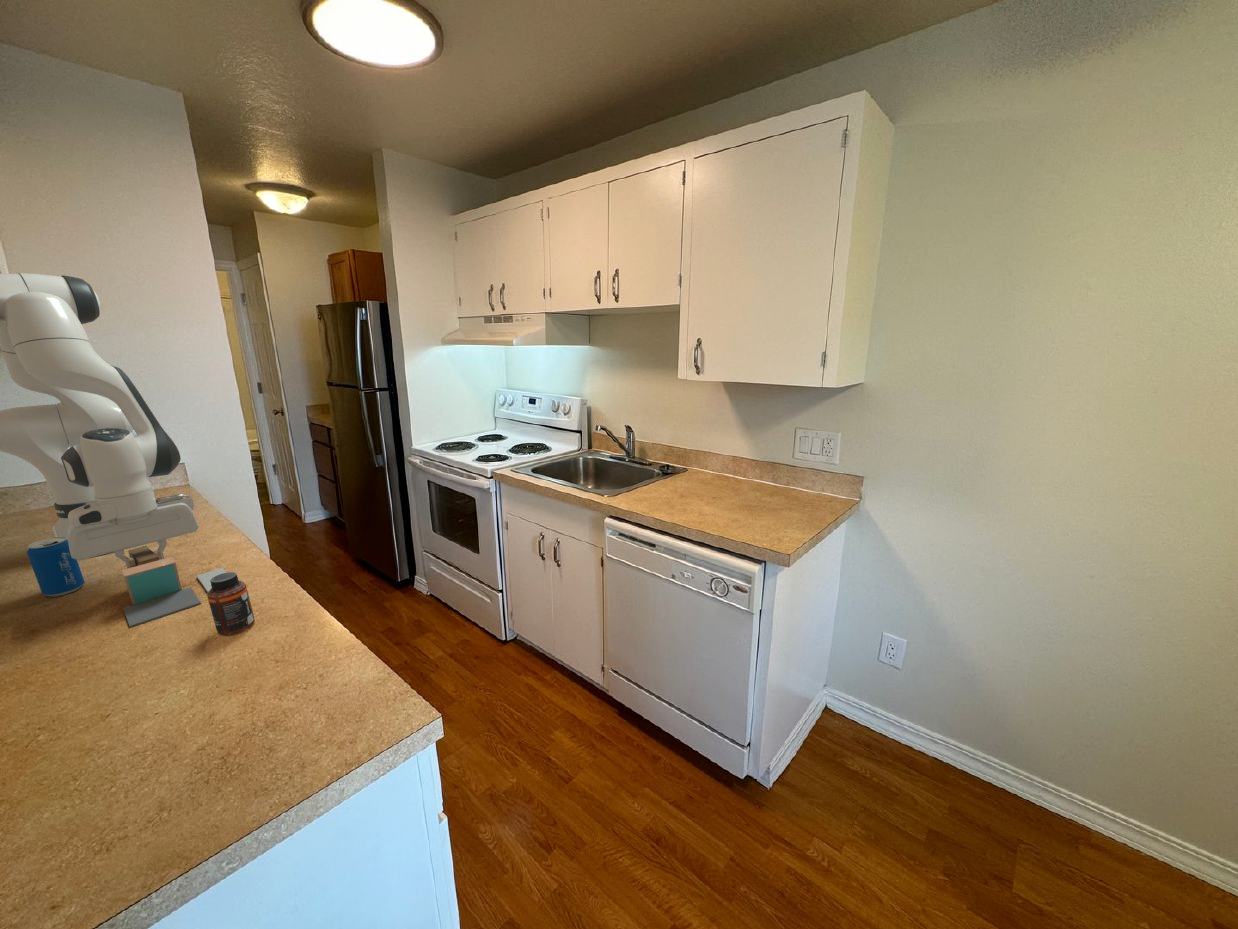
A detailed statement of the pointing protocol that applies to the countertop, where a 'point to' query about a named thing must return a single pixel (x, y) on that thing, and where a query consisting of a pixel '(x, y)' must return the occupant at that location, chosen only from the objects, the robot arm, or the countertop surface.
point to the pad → (209, 578)
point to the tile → (152, 580)
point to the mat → (160, 606)
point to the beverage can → (55, 566)
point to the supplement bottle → (230, 604)
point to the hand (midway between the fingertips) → (145, 562)
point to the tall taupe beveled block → (143, 555)
